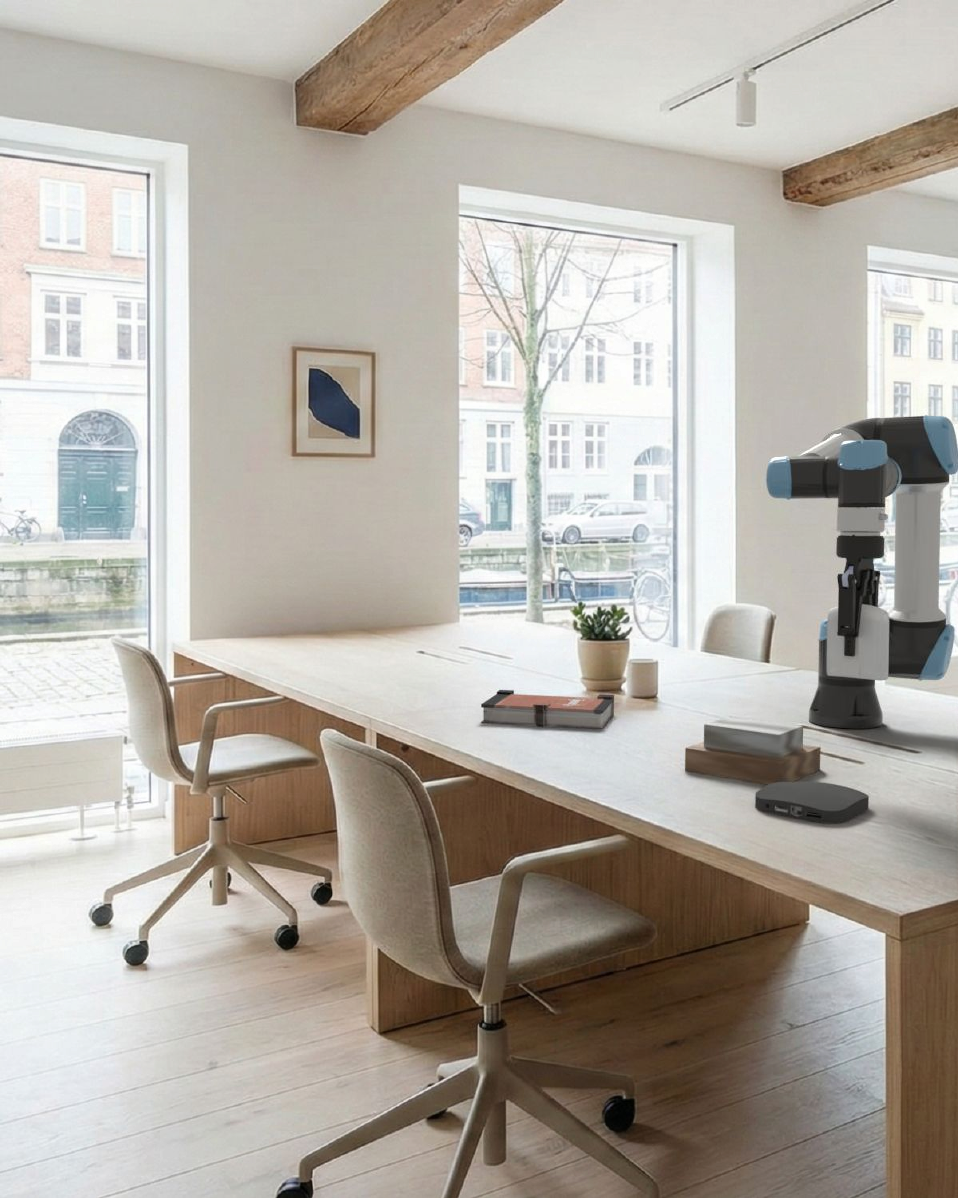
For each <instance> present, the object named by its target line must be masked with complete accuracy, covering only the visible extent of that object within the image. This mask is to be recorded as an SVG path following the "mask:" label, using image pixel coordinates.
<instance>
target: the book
mask: <svg viewBox="0 0 958 1198" xmlns="http://www.w3.org/2000/svg"><path fill="white" fill-rule="evenodd" d="M480 704H481V707H480V708H483V712H482V713H483V717H482V718H483V720H481V722H480V723H481V724H496V725H514V726H532V727H540V728H542V727H551V728H572V729H590V730H591V729H592V730H603V729H604V728H605V727H606V726H607V725H608V723H609V721H610V720H611V719H612V718H613V717H614V715H615V695H614V694H603V693H602V694H601V693H600V694H598V695H597V696H596V697H582V696H581V697H580V696H561V695H542V694H541V695H540V694H539V695H536V694H519V693H517V694H516V693H515V690H514V689H511V690H510V689H499V690H497V691H496V694H495V695H493V696H492V697H490V698H489V699H487V700H485V701H484V702H482V703H480Z"/></svg>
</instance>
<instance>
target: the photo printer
mask: <svg viewBox="0 0 958 1198" xmlns="http://www.w3.org/2000/svg"><path fill="white" fill-rule="evenodd" d="M888 612H889V611H887V610H886V609H883V608H880V607H879V606H878V607H875V606H871V605H865V604H862V608H861V617H860V626H859V635H858V637H861V652H860V676H848V675H842V661H843V636H838V635H837V632H838V605H837V606H835V607H832V608H830V609H829V610H828V614H827V618H826V619H827V675H828V676H840V677H850V678H861V679H870V680H875V681H881V682H882V681H886V680H888V679H889V677H888V663H889V615H888Z"/></svg>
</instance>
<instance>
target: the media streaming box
mask: <svg viewBox="0 0 958 1198" xmlns="http://www.w3.org/2000/svg"><path fill="white" fill-rule="evenodd" d="M754 795H755V798H754V799H755V800H754V802H755V804H754V807H755V809H756V810H759V811H760V812H763V813H767V814H772V815H775V816H776V815H777V816H782V817H787V818H792V819H795V820H801V821H802V820H803V821H808V822H814V823H819V824H840V823H846V822H848V821H849V820H852V819H854V818H856V817H858V816H860V815H862V814H864V813H865V812H867V811H869V798H870V796H869V795H868V794H866V793H865V792H863V791H860V790H857V789H854V788H851V787H848V786H845V785H844V786H843V785H840V784H836V783H830V782H822V781H821V782H820V781H793V782H777V783H772V784H769V785H768V784H766V785H765V786H764V787H762V788H760V789H759V790H757V791H756V792H755V794H754Z"/></svg>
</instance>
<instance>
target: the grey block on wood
mask: <svg viewBox="0 0 958 1198" xmlns="http://www.w3.org/2000/svg"><path fill="white" fill-rule="evenodd" d="M821 749H822V747H821V746H815V745H809V744H804V725H799V724H798V725H797V724H793V723H785V722H784V723H783V722H777V721H771V720H770V721H769V720H762V719H756V718H755V719H754V718H746V717H739V716H732V715H730V716H727V717H724V718H723V717H722V718H720V719H717V720H715V721H711V722H708V723H705V724H704V725H703V741H702V742H699V743H696V744H693V745H689V746H688V747H685V751H684V752H685V753H684V771H687V772H692V773H698V774H704V775H711V776H716V777H722V778H727V779H734V780H739V781H746V782H752V783H756V784H763V785H769V784H772V783H777V782H796V781H797V780H799V779H802V778H803V777H806V776H808V775H810V774H813V773H815V772H818V771H819V770H821Z"/></svg>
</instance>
